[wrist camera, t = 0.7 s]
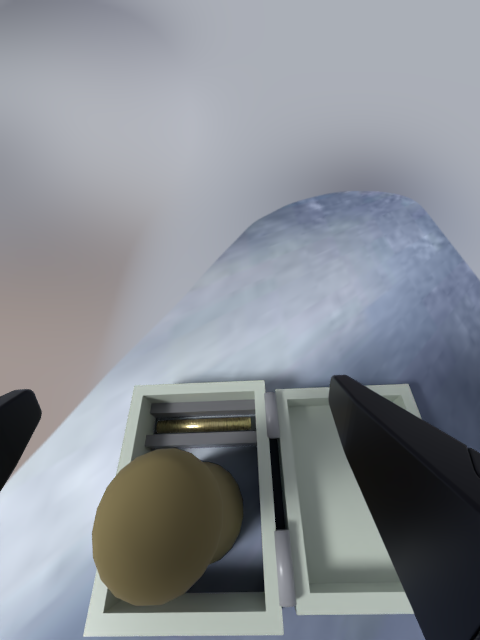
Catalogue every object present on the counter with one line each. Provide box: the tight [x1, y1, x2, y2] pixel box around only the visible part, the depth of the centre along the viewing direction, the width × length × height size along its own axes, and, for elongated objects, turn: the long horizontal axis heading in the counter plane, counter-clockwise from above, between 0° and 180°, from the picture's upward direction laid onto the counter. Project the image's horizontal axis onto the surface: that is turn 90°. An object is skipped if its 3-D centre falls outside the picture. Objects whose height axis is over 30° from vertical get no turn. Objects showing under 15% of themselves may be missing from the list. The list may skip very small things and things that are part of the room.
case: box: [83, 380, 297, 637], centre depth 18 cm, size 13×11×4 cm
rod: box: [156, 417, 251, 434], centre depth 22 cm, size 1×8×1 cm, turn 92°
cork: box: [92, 448, 243, 606], centre depth 14 cm, size 6×6×11 cm
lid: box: [275, 384, 422, 615], centre depth 18 cm, size 12×10×3 cm
